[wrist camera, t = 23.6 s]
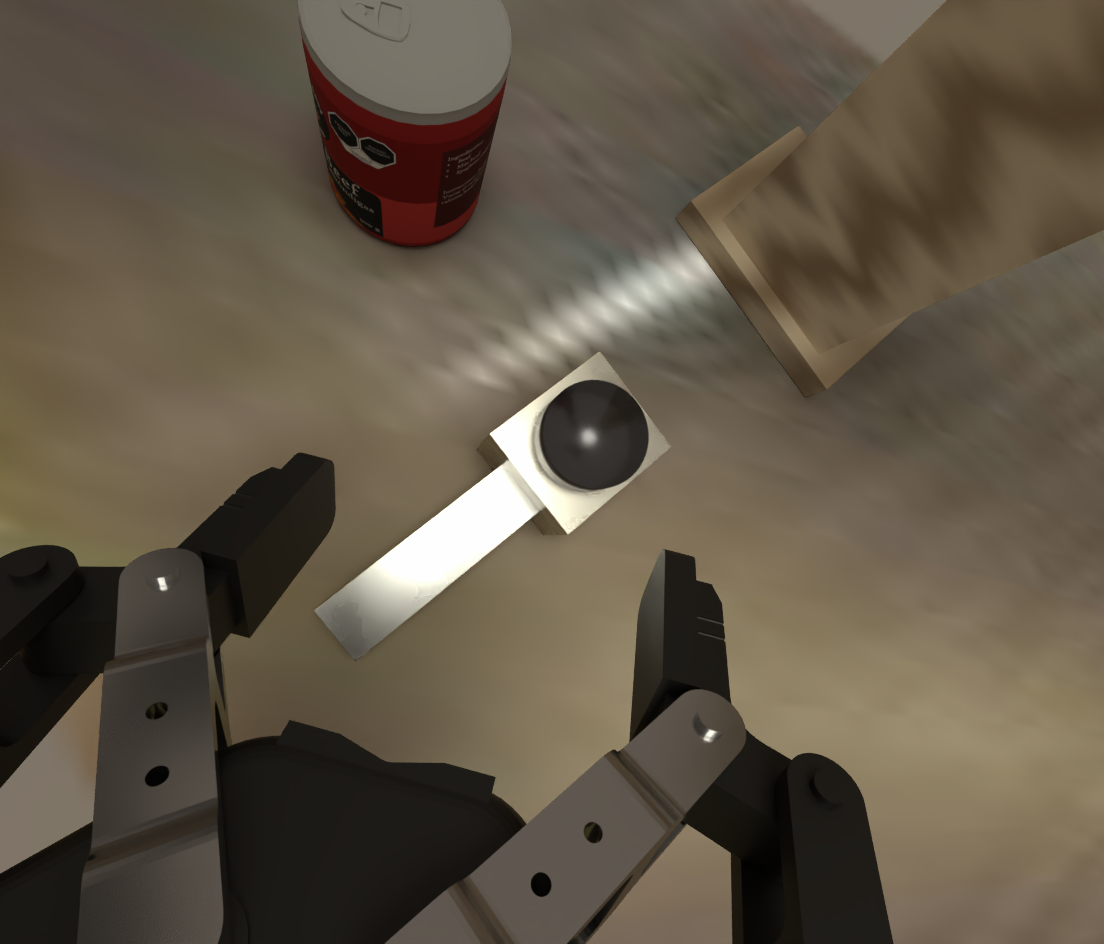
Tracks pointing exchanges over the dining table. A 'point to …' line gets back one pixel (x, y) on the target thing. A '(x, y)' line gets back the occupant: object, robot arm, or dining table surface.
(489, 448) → the grey elongated piece
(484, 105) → the canned food
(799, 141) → the stand
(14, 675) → the robot arm
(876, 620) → the dining table surface
